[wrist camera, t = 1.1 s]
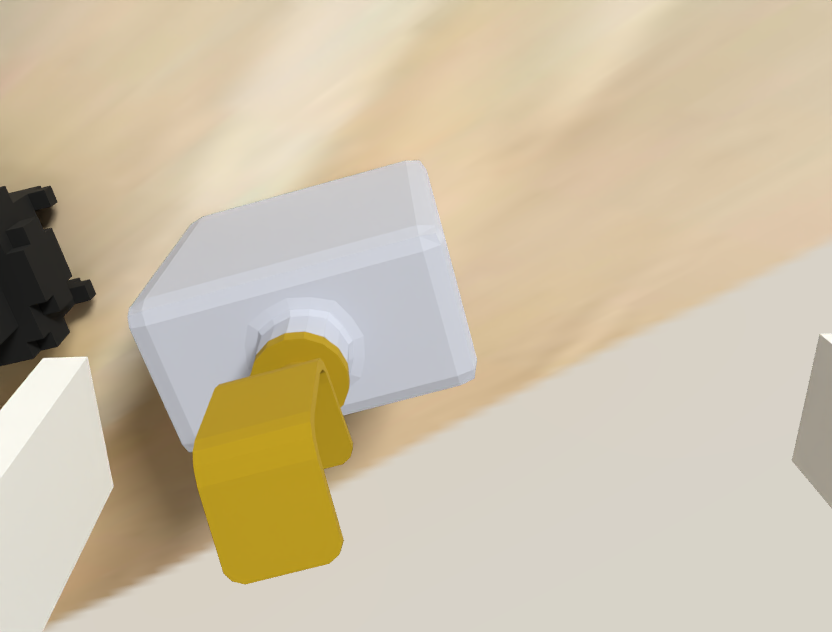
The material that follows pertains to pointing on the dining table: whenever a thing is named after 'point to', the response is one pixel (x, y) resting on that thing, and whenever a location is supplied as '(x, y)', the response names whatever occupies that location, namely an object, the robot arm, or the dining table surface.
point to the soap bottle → (298, 350)
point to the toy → (33, 278)
